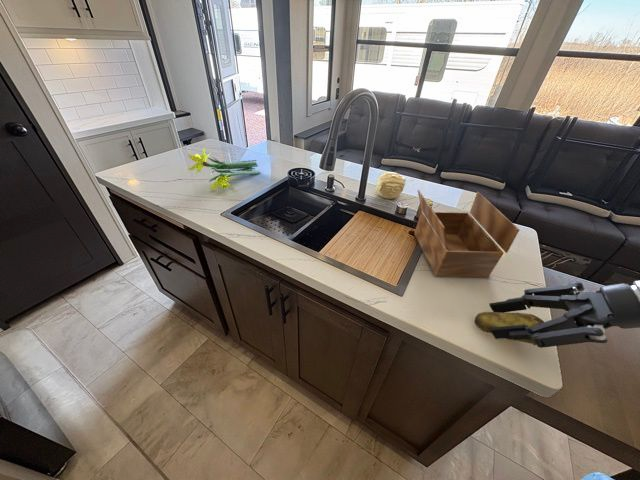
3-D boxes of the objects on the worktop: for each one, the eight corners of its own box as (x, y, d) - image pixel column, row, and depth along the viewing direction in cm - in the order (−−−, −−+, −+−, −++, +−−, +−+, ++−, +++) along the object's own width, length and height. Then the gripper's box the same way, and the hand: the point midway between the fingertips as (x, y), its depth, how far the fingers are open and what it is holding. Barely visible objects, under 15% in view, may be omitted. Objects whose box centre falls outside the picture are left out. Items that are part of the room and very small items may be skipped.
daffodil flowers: (271, 179, 125) (213, 186, 96) (251, 188, 133) (191, 197, 104) (259, 145, 123) (195, 142, 93) (240, 156, 130) (175, 157, 101)
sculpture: (376, 201, 110) (381, 177, 103) (373, 188, 119) (377, 166, 112) (403, 202, 109) (409, 179, 103) (397, 189, 119) (403, 167, 112)
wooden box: (491, 277, 75) (522, 229, 65) (435, 276, 75) (457, 228, 64) (460, 234, 92) (480, 191, 81) (414, 233, 91) (428, 190, 81)
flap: (445, 227, 64) (443, 228, 64) (448, 249, 69) (446, 249, 69) (418, 189, 81) (417, 190, 81) (422, 209, 85) (421, 209, 85)
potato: (479, 308, 66) (493, 287, 61) (537, 340, 59) (558, 320, 54) (468, 328, 61) (482, 307, 56) (530, 366, 54) (552, 346, 49)
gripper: (680, 370, 37) (501, 369, 53) (625, 282, 51) (498, 302, 67) (662, 334, 36) (484, 344, 51) (611, 254, 50) (484, 280, 65)
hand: (492, 320), depth 59 cm, fingers closed on potato, 7 cm apart
